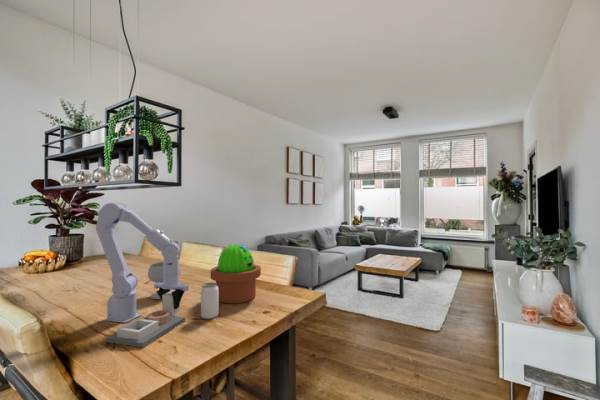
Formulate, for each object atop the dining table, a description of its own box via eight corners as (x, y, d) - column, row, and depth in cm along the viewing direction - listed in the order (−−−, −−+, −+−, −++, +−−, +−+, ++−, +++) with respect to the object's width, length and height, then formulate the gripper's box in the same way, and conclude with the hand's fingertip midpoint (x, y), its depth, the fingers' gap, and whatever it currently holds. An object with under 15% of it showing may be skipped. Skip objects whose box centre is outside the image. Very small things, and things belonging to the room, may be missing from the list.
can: (212, 311, 117) (212, 281, 117) (221, 315, 113) (221, 284, 113) (197, 316, 112) (197, 285, 112) (207, 320, 108) (207, 288, 108)
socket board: (106, 342, 92) (106, 329, 92) (153, 317, 111) (153, 307, 111) (143, 348, 88) (143, 334, 88) (185, 321, 108) (185, 310, 108)
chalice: (186, 293, 139) (186, 262, 139) (160, 302, 127) (159, 268, 127) (168, 289, 146) (168, 259, 147) (141, 297, 134) (141, 265, 134)
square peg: (162, 315, 113) (162, 294, 113) (170, 311, 118) (170, 291, 118) (172, 316, 112) (172, 295, 112) (179, 312, 117) (179, 292, 117)
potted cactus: (200, 301, 130) (200, 245, 130) (233, 287, 149) (233, 239, 149) (239, 309, 119) (239, 248, 119) (269, 294, 139) (269, 241, 139)
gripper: (148, 274, 113) (148, 309, 113) (180, 277, 109) (180, 313, 109) (161, 270, 120) (161, 303, 120) (191, 272, 116) (191, 306, 116)
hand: (171, 307), depth 115 cm, fingers closed on square peg, 4 cm apart
